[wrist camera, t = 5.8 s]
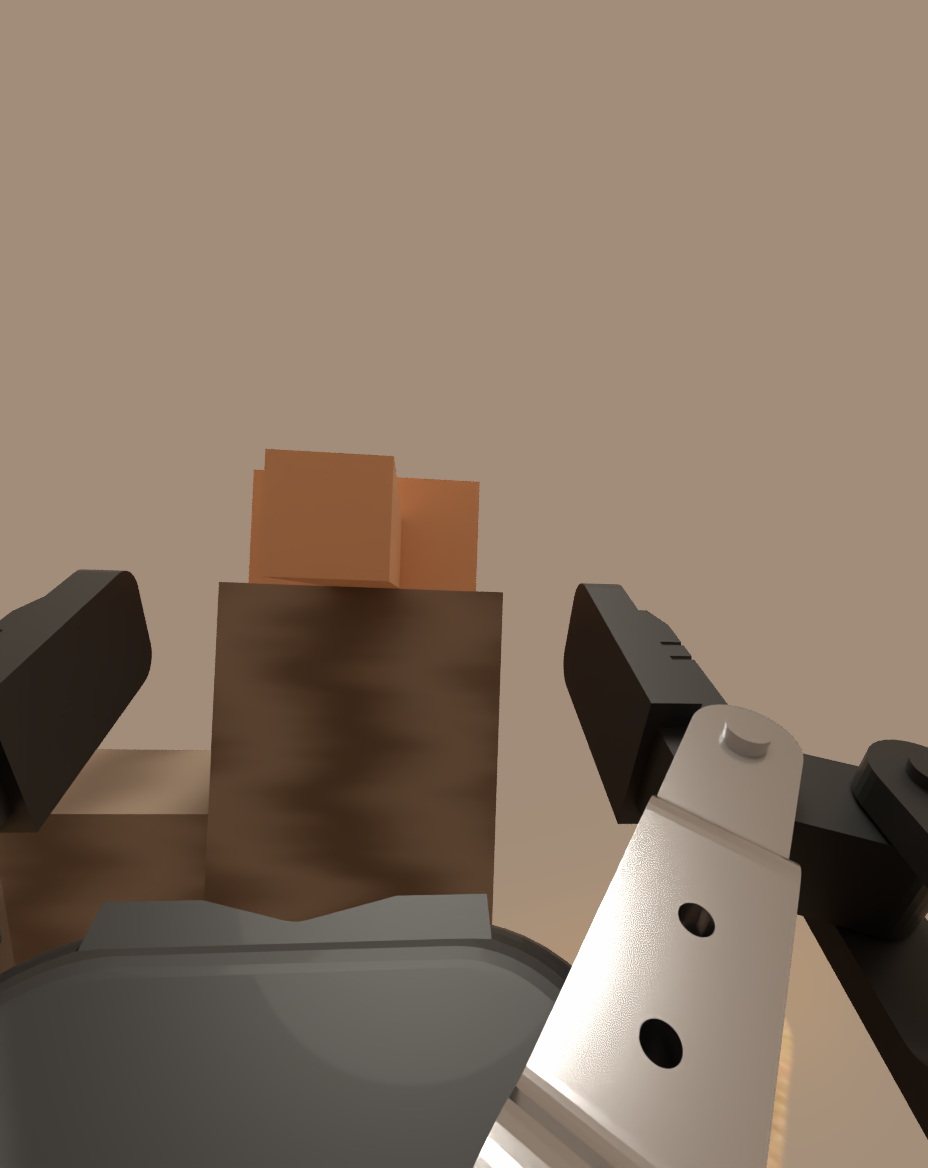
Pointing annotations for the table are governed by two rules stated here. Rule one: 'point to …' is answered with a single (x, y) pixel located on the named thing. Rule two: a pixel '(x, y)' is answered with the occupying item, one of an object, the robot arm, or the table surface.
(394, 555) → the orange block
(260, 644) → the step stand
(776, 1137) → the table surface
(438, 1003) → the robot arm
